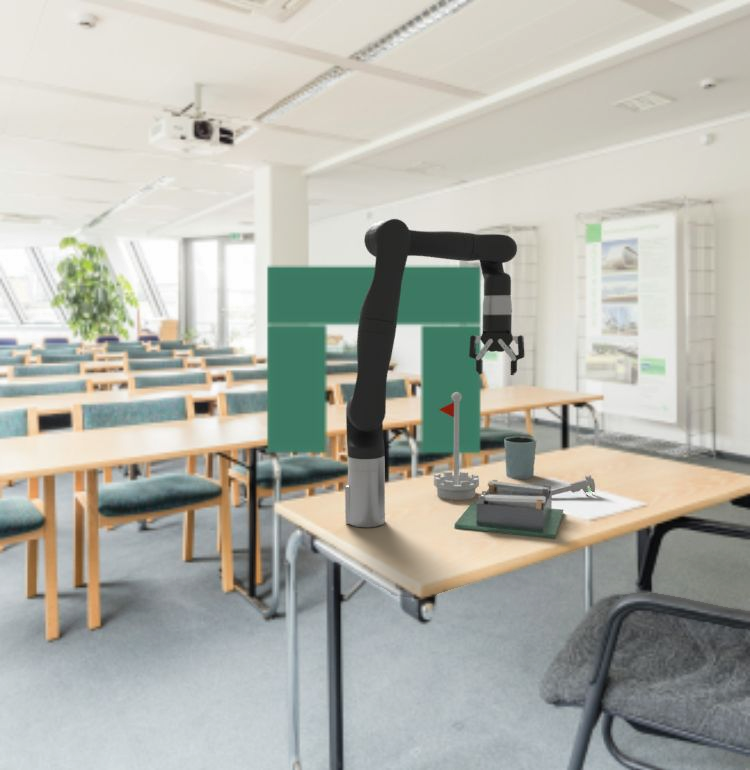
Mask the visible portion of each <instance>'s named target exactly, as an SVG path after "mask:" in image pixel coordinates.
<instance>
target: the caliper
mask: <svg viewBox="0 0 750 770" xmlns="http://www.w3.org/2000/svg"><path fill="white" fill-rule="evenodd" d="M584 477H585V478H584V479H581V480H577V481H574V482H573V481H572V482H569V484H568V485H564V486H560V487H557V488H552V489H551V491H552V496H555V495H560V494H563V493H567V492H568V493H569V492H571V493H573V494H574V493H577V492H580V491H581V490H582V491H583V493H584V492H585V493H586V492H589V489H590V492H591V491H592V492H595V493H596V483H595V479H594V478H592V475H591V474H588V476H587V475H584ZM588 487H589V489H588ZM585 493H584V494H585Z"/></svg>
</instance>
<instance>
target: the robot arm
mask: <svg viewBox="0 0 750 770" xmlns="http://www.w3.org/2000/svg"><path fill="white" fill-rule="evenodd" d="M364 246H365V247H366V250H367V252H368V253H369V254H370V255H372V256H373V257H375V265H374V272H373V276H372V281H371V284H370V286H369V288H368V291H367V293H366V295H365V296H364V297H365V298H364V300H363V303H362V305H361V308H360V312H359V317H358V318H359V319H358V328H357V336H356V340H357V341H356V355H357V357H356V359H357V360H356V361H357V372H356V373H357V375H356V381H355V385H354V390H353V394H352V395H351V396H350V398H349V399H348V400H347V403H346V408H345V415H346V420H345V421H346V424H345V425H346V426H345V427H346V446H347V447H346V449H347V485H345V487H344V489H345V491H344V497H345V499H344V500H345V503H344V506H345V507H344V508H345V509H344V510H345V511H344V512H345V524H346V523H347V525H351V526H352V527H357V528H375V527H379V526H382V525H384V524H385V522H386V501H385V500H386V496H385V495H386V484H385V483H386V481H385V480H386V478H385V477H386V476H385V475H386V474H385V473H386V472H385V470H386V469H385V465H386V464H385V462H386V461H385V442H384V430H383V429H384V428H383V423H384V420H385V417H386V408H387V406H386V405H387V403H386V402H387V401H386V399H387V398H386V397H387V383H388V382H387V381H388V380H387V379H388V374H389V369H390V365H391V360H392V355H393V349H394V344H395V338H396V331H397V327H398V326H397V323H398V318H399V317H398V316H399V315H398V314H399V306H400V299H401V292H402V283H403V277H404V273H405V269H406V264H407V260H408V256H409V257H411V256H412V257H413V256H414V257H417V256H418V257H425V258H426V257H427V258H434V259H435V258H436V259H444V260H452V261H463V262H473V261H475V262H476V261H479V264H480V269H481V273H482V276H483V277H482V278H483V281H484V282H483V301H482V333H481V335H476V334H473V335H470V338H469V351H468V352H469V354H468V357H469V358H470V359H471V358H472V359H474V360H475V370H476V372H477V373H478V375H482V374H483V373H484V372H483V371H484V370H483V369H484V366H483V363H484V362H483V358H484V356H486V354H487V353H488V352H491V353H493V352H497V353H503V352H505V353H506V354H507V355H508V357H509V358H510V359H511V360H510V376H515V374H516V373H517V372H518V360H521V359H523V358H524V357H525V337H524V336H523V335H517V336H516V335H513V334H512V321H513V320H512V315H513V308H512V307H513V305H512V303H513V302H512V278H511V275H510V274H509V273H506V272H505V271H504V265H503V264H504V263H507V262H510V261H512V260H513V259H514V258H515V257H516V255H517V253H518V244H517V243H516V241H515V239H514V238H512V237H511V236H509V235H507V234H498V233H493V234H492V233H491V234H487V233H485V234H478V233H471V232H463V231H453V230H452V231H450V230H449V231H448V230H447V231H446V230H445V231H444V230H439V231H437V230H436V231H425V230H424V231H423V230H421V231H420V230H415V229H414V230H413V229H409V227H408V226H407V224H406V223H405V222H404V221H403V220H401V219H398V218H390V219H385V220H380V221H377V222H375V223H373V224H372V225H370V226H369V228H367V230H366V232H365V234H364ZM480 341H481V343H482V344H483V347H482V348H481V350H480V351H479V352H478V353H477V344H479V342H480ZM513 341H514V343H515V344H516V345H517V350H518V352H517V354H516V353H515V351H514V350H513V348H511V346H510V345H511V343H513Z"/></svg>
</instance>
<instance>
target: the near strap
mask: <svg viewBox="0 0 750 770" xmlns="http://www.w3.org/2000/svg"><path fill="white" fill-rule="evenodd" d="M481 496H485V501H508V502H534V503H536V501H542V503H545V500H546V497H543V496H515V495H487V494H482V493H481Z"/></svg>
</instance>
